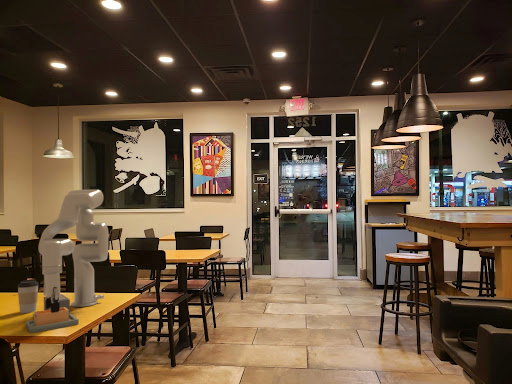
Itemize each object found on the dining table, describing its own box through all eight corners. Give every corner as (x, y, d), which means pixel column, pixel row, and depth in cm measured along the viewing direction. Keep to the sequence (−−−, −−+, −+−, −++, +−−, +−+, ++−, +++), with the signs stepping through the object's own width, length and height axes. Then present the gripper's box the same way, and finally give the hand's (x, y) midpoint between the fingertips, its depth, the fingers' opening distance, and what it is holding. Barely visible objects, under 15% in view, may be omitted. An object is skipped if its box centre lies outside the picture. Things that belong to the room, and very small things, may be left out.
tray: (71, 318, 177) (71, 313, 177) (78, 324, 166) (78, 319, 167) (25, 326, 166) (25, 321, 166) (30, 333, 155) (30, 328, 155)
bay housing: (69, 317, 179) (69, 298, 179) (50, 320, 174) (50, 301, 174) (61, 310, 191) (61, 293, 192) (43, 313, 186) (43, 296, 187)
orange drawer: (65, 318, 173) (65, 307, 173) (68, 321, 167) (68, 309, 167) (32, 324, 165) (32, 312, 165) (35, 327, 159) (35, 315, 160)
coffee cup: (41, 310, 192) (41, 280, 193) (21, 314, 185) (21, 283, 186) (34, 308, 198) (34, 278, 199) (14, 311, 191) (14, 281, 192)
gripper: (38, 268, 172) (39, 307, 171) (46, 273, 158) (47, 315, 158) (57, 266, 177) (58, 304, 176) (66, 271, 163) (67, 312, 163)
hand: (52, 309), depth 167 cm, fingers open, 9 cm apart
